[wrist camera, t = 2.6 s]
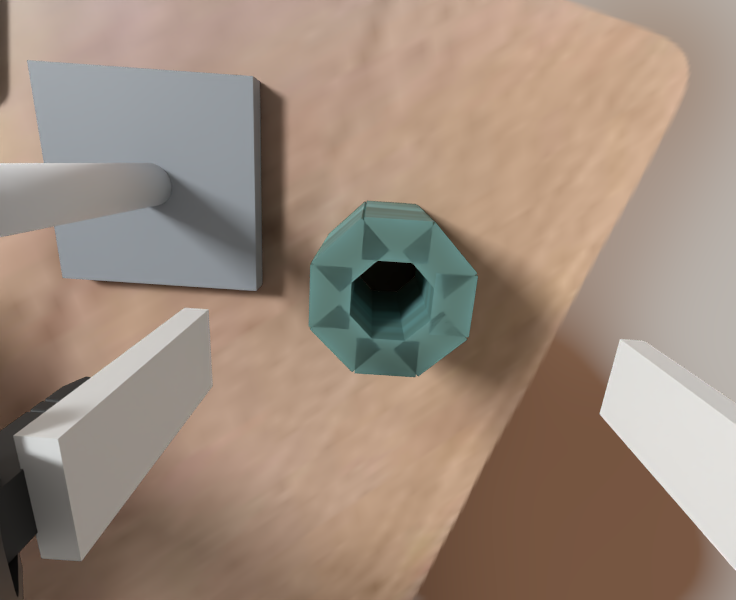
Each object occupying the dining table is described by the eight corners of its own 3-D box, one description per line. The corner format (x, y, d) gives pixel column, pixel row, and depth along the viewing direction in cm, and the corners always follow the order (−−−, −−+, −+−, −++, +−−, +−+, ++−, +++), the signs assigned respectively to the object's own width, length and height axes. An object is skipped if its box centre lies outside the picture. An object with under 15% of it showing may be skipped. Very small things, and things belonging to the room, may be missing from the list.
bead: (325, 314, 28) (307, 370, 21) (329, 198, 26) (311, 213, 18) (438, 321, 28) (461, 380, 21) (452, 206, 26) (485, 225, 18)
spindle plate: (78, 271, 28) (-223, 384, 14) (47, 66, 24) (-410, -68, 10) (262, 284, 28) (149, 408, 14) (260, 81, 24) (101, -31, 10)
